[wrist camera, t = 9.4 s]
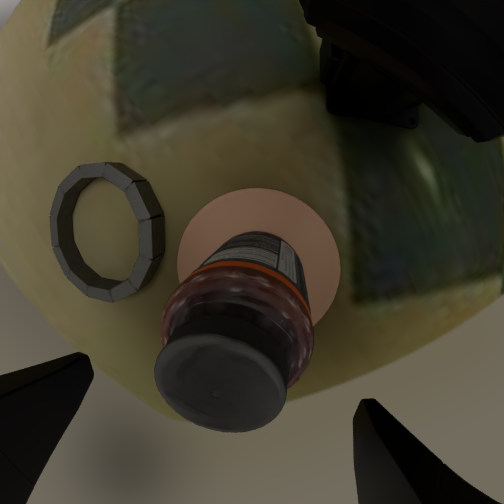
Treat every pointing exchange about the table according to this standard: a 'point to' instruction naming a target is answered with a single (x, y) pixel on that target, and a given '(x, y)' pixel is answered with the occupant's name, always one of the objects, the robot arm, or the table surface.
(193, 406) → the supplement bottle
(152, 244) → the cup collar
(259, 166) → the table surface
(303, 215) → the terracotta saucer
